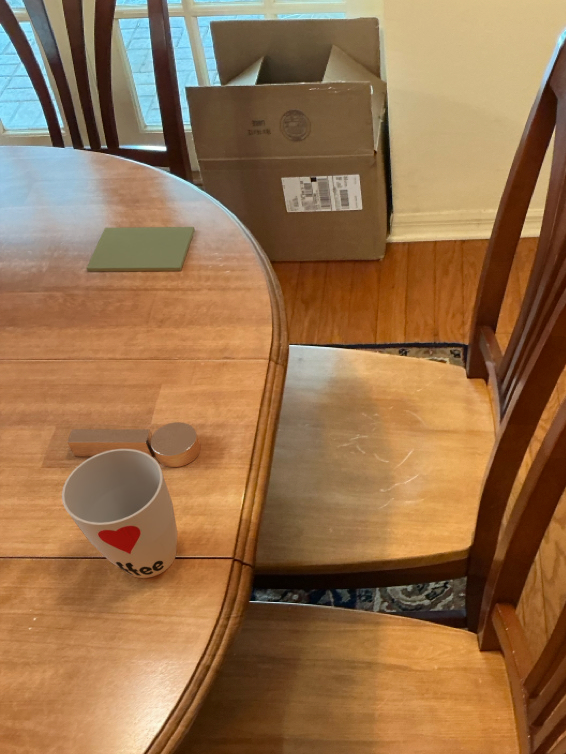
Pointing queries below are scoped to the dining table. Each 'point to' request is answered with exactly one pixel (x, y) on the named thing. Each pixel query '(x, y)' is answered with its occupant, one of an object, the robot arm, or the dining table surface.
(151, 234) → the placemat
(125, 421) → the dining table surface
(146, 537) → the cup
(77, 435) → the spoon
